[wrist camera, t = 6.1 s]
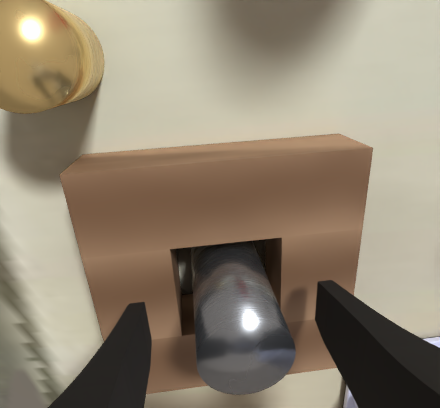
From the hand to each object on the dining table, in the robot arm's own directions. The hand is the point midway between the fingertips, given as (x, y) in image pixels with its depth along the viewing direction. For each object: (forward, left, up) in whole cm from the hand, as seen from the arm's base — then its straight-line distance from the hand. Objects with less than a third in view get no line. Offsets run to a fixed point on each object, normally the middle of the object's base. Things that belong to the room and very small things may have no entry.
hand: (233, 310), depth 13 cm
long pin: (0, 0, -4) cm, 4 cm away
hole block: (0, 0, -4) cm, 4 cm away
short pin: (+10, +6, -4) cm, 12 cm away
